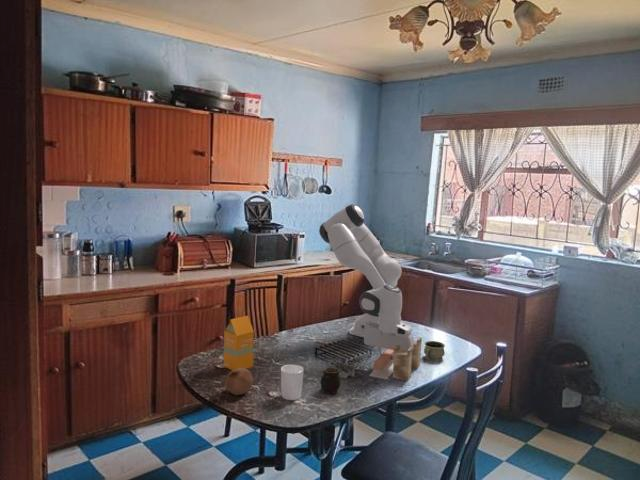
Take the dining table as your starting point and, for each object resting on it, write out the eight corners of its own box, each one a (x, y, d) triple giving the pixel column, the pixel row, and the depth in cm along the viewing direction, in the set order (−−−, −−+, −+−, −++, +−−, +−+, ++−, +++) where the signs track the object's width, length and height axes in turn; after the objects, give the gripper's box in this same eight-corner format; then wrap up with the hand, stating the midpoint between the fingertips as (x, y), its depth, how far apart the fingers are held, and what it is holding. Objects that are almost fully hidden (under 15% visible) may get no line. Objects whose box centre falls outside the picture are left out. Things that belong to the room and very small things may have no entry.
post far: (403, 365, 210) (404, 337, 208) (405, 362, 214) (407, 335, 212) (417, 368, 208) (419, 340, 206) (419, 365, 211) (421, 337, 210)
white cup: (279, 391, 182) (280, 364, 180) (302, 391, 182) (303, 364, 181) (280, 401, 174) (280, 373, 173) (303, 401, 175) (304, 373, 173)
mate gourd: (316, 388, 185) (318, 361, 184) (335, 385, 188) (337, 359, 187) (324, 396, 179) (326, 368, 178) (344, 393, 182) (345, 366, 181)
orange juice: (223, 366, 202) (224, 317, 200) (241, 360, 209) (242, 313, 206) (235, 372, 197) (236, 321, 194) (253, 366, 203) (254, 317, 201)
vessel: (432, 352, 228) (433, 338, 227) (449, 357, 222) (451, 343, 221) (417, 358, 219) (418, 344, 218) (435, 364, 213) (436, 350, 212)
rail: (373, 369, 197) (374, 362, 197) (392, 350, 219) (393, 344, 218) (381, 371, 196) (381, 363, 196) (399, 352, 217) (400, 345, 217)
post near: (392, 377, 198) (394, 347, 196) (395, 374, 201) (397, 344, 200) (407, 380, 195) (409, 350, 193) (410, 377, 199) (412, 347, 197)
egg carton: (357, 376, 198) (357, 366, 197) (340, 380, 194) (341, 369, 194) (342, 367, 207) (342, 357, 206) (326, 370, 203) (327, 360, 203)
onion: (233, 405, 176) (224, 385, 171) (227, 387, 184) (219, 368, 179) (259, 393, 178) (251, 373, 173) (252, 376, 186) (244, 356, 181)
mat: (369, 375, 198) (369, 374, 198) (388, 356, 220) (388, 355, 220) (386, 379, 196) (386, 378, 195) (404, 359, 217) (404, 358, 217)
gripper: (362, 323, 207) (360, 356, 209) (411, 332, 198) (409, 366, 200) (367, 319, 213) (366, 351, 215) (416, 328, 204) (413, 361, 206)
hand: (387, 358), depth 207 cm, fingers closed on rail, 3 cm apart
